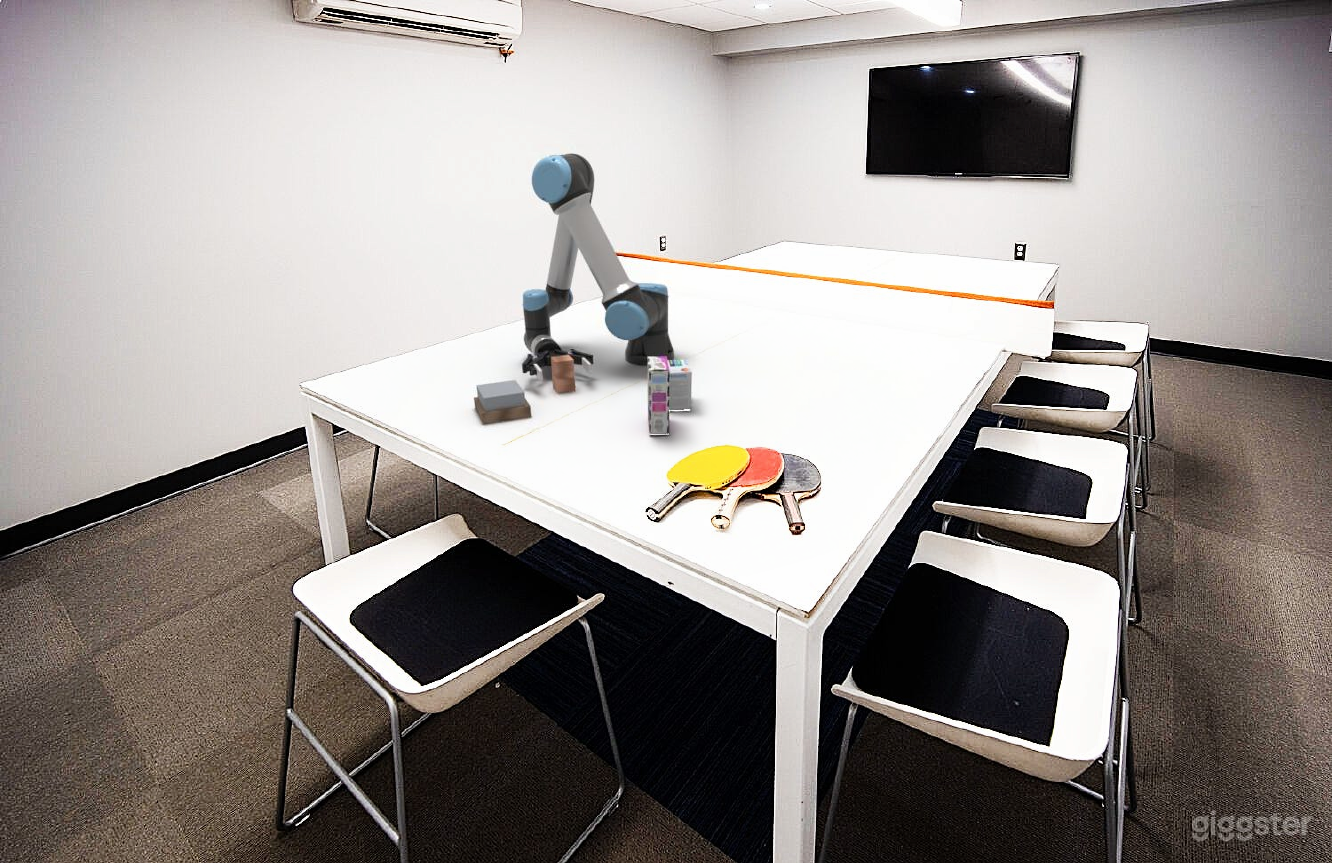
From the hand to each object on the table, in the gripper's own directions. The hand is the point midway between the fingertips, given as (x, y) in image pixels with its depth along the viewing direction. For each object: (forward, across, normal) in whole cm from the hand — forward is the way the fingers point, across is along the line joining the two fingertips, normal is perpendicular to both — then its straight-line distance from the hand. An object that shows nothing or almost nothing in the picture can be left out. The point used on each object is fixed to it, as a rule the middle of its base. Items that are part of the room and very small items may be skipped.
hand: (565, 372), depth 196 cm
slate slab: (+7, +19, -3) cm, 20 cm away
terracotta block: (-3, 0, -6) cm, 7 cm away
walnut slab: (+7, +19, -7) cm, 21 cm away
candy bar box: (+32, -14, -6) cm, 35 cm away
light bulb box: (+20, -24, -6) cm, 32 cm away
